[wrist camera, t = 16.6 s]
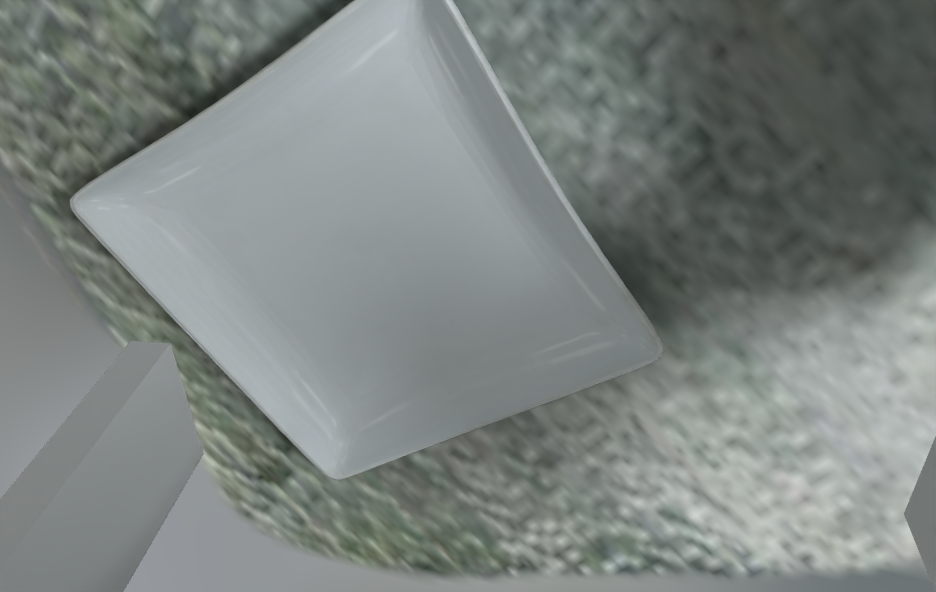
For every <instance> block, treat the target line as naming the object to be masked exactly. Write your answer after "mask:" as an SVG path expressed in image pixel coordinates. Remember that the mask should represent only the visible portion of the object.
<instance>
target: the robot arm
mask: <svg viewBox="0 0 936 592" xmlns="http://www.w3.org/2000/svg"><path fill="white" fill-rule="evenodd" d="M203 454H204V453H203V450H202V447H201V443H200V440H199V437H198V433H197V430H196V427H195V423H194V420H193V417H192V414H191V410H190V407H189V404H188V400H187V397H186V394H185V390H184V387H183V384H182V380H181V377H180V374H179V370H178V367H177V364H176V360H175V357H174V354H173V350H172V347H171V344H170V343H155V342H140V341H130V342H129V344H128V345H127V346H126V347H125V348H124V350H123V351H122V352H121V353H120V355H119V356H118V357H117V358H116V359H115V361H114V362H113V363H112V364H111V365H110V367H109V368H108V369H107V370H106V371H105V373H104V374H103V375H102V376H101V378H100V379H99V380H98V381H97V382H96V384H95V385H94V386H93V387H92V389H91V390H90V391H89V392H88V394H87V395H86V396H85V397H84V398H83V399H82V401H81V402H80V403H79V404H78V405H77V407H76V408H75V409H74V410H73V411H72V413H71V414H70V415H69V416H68V418H67V419H66V420H65V421H64V423H63V424H62V425H61V426H60V427H59V429H58V430H57V431H56V432H55V433H54V435H53V436H52V437H51V438H50V439H49V441H48V442H47V443H46V444H45V445H44V447H43V448H42V449H41V450H40V451H39V453H38V454H37V455H36V456H35V458H34V459H33V460H32V461H31V462H30V464H29V465H28V466H27V467H26V468H25V470H24V471H23V472H22V473H21V475H20V476H19V477H18V478H17V479H16V481H15V482H14V483H13V484H12V485H11V487H10V488H9V489H8V490H7V491H6V493H5V494H4V495H3V497H2V498H1V499H0V592H123V591H124V590H125V588H126V586H127V584H128V583H129V581H130V579H131V578H132V576H133V574H134V573H135V571H136V569H137V567H138V566H139V564H140V562H141V561H142V559H143V557H144V555H145V554H146V552H147V550H148V548H149V547H150V545H151V543H152V542H153V540H154V538H155V536H156V535H157V533H158V531H159V530H160V528H161V526H162V524H163V523H164V521H165V519H166V518H167V516H168V514H169V512H170V510H171V509H172V507H173V506H174V504H175V502H176V500H177V499H178V497H179V495H180V493H181V492H182V490H183V488H184V487H185V485H186V483H187V482H188V480H189V478H190V476H191V475H192V473H193V471H194V469H195V468H196V466H197V464H198V463H199V461H200V459H201V458H202V456H203ZM904 515H905V518H906V520H907V522H908V525H909V527H910V530H911V532H912V535H913V537H914V540H915V542H916V545H917V547H918V550H919V552H920V555H921V557H922V560H923V562H924V564H925V567H926V569H927V572H928V574H929V577H930V579H931V582H932V584H933V586H934V589H935V591H936V437H935V439H934V442H933V444H932V447H931V449H930V452H929V454H928V456H927V459H926V461H925V464H924V466H923V469H922V471H921V474H920V476H919V478H918V481H917V483H916V486H915V488H914V491H913V493H912V495H911V498H910V500H909V503H908V505H907V508H906V510H905V512H904Z"/></svg>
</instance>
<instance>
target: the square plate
mask: <svg viewBox="0 0 936 592" xmlns="http://www.w3.org/2000/svg"><path fill="white" fill-rule="evenodd" d="M70 207H71V210H72V211H73V213H74V214H75V215H76V217H77V218H78V219H79V220H80V221H81V222H82V223H83V224H84V226H85V227H86V228H87V229H88V230H89V231H90V232H91V233H92V234H93V235H94V236H95V237H96V238H97V239H98V240H99V241H100V243H101V244H102V245H103V246H104V247H105V248H106V249H107V250H108V251H109V252H110V253H111V254H112V255H113V256H114V257H115V258H116V259H117V260H118V262H119V263H120V264H121V265H122V266H123V267H124V268H125V269H126V270H127V271H128V272H129V273H130V274H131V275H132V276H133V277H134V278H135V279H136V280H137V281H138V282H139V283H140V285H141V286H142V287H143V288H144V289H145V290H146V291H147V292H148V293H149V294H150V295H151V296H152V297H153V298H154V299H155V300H156V301H157V302H158V303H159V304H160V306H161V307H162V308H163V309H164V310H165V311H166V312H167V313H168V314H169V315H170V316H171V317H172V318H173V319H174V320H175V321H176V322H177V323H178V324H179V325H180V327H181V328H182V329H183V330H184V331H185V332H186V333H187V334H188V335H189V336H190V337H191V338H192V339H193V340H194V341H195V342H196V343H197V344H198V345H199V346H200V347H201V348H202V349H203V350H204V351H205V352H206V353H207V354H208V355H209V356H210V358H211V359H212V360H213V361H214V362H215V363H216V364H217V365H218V366H219V367H220V368H221V369H222V370H223V371H224V372H225V373H226V374H227V375H228V376H229V378H230V379H231V380H232V381H233V382H234V383H235V384H236V385H237V386H238V387H239V388H240V389H241V390H242V391H243V392H244V393H245V394H246V395H247V396H248V397H249V398H250V399H251V400H252V401H253V402H254V404H255V405H256V406H257V407H258V408H259V409H260V410H261V411H262V412H263V413H264V414H265V415H266V416H267V417H268V418H269V419H270V420H271V421H272V422H273V424H274V425H275V426H276V427H277V428H278V429H279V430H280V431H281V432H282V433H283V434H284V435H285V436H286V437H287V438H288V439H289V440H290V441H291V442H292V443H293V444H294V445H295V446H296V447H297V448H298V449H299V450H300V451H301V452H302V453H303V454H304V455H305V456H306V457H307V458H308V459H309V460H310V461H311V462H312V463H313V464H314V465H315V466H316V467H317V468H318V469H319V470H320V471H321V472H322V473H323V474H324V475H326V476H327V477H329V478H331V479H333V480H338V479H344V478H347V477H350V476H353V475H355V474H358V473H361V472H364V471H367V470H369V469H372V468H375V467H377V466H380V465H382V464H385V463H388V462H390V461H393V460H396V459H398V458H401V457H403V456H406V455H409V454H411V453H414V452H417V451H419V450H422V449H425V448H427V447H430V446H433V445H435V444H438V443H441V442H443V441H446V440H449V439H451V438H454V437H456V436H459V435H462V434H464V433H467V432H470V431H472V430H475V429H478V428H481V427H483V426H486V425H489V424H491V423H494V422H497V421H499V420H502V419H505V418H508V417H510V416H513V415H516V414H519V413H521V412H524V411H527V410H529V409H532V408H535V407H537V406H540V405H543V404H545V403H548V402H551V401H554V400H556V399H559V398H562V397H565V396H567V395H570V394H573V393H576V392H578V391H581V390H584V389H586V388H589V387H591V386H594V385H597V384H599V383H602V382H605V381H607V380H610V379H613V378H615V377H618V376H621V375H623V374H626V373H628V372H631V371H634V370H636V369H639V368H641V367H644V366H646V365H648V364H651V363H653V362H655V361H657V360H658V359H660V358H661V356H662V355H663V352H664V346H663V344H662V342H661V340H660V338H659V336H658V334H657V332H656V330H655V329H654V327H653V326H652V323H651V322H650V321H649V319H648V317H647V316H646V314H645V312H644V311H643V310H642V309H641V308H640V306H639V304H638V303H637V301H636V300H635V298H634V297H633V296H632V294H631V293H630V292H629V290H628V289H627V287H626V286H625V284H624V283H623V281H622V280H621V278H620V277H619V275H618V274H617V273H616V271H615V270H614V268H613V267H612V265H611V264H610V263H609V261H608V260H607V258H606V257H605V256H604V254H603V253H602V251H601V249H600V248H599V246H598V244H597V243H596V242H595V240H594V239H593V238H592V236H591V234H590V233H589V232H588V230H587V229H586V227H585V226H584V224H583V223H582V221H581V220H580V218H579V217H578V215H577V213H576V212H575V210H574V208H573V207H572V205H571V204H570V202H569V201H568V199H567V198H566V196H565V194H564V193H563V191H562V189H561V188H560V186H559V184H558V183H557V181H556V179H555V178H554V176H553V174H552V173H551V171H550V169H549V168H548V166H547V164H546V163H545V161H544V160H543V158H542V156H541V154H540V153H539V151H538V149H537V148H536V146H535V144H534V142H533V141H532V139H531V137H530V135H529V134H528V132H527V130H526V128H525V126H524V125H523V123H522V121H521V120H520V118H519V116H518V114H517V113H516V111H515V109H514V107H513V106H512V104H511V102H510V100H509V99H508V97H507V95H506V93H505V91H504V90H503V88H502V86H501V84H500V82H499V80H498V79H497V77H496V75H495V73H494V71H493V70H492V68H491V66H490V65H489V63H488V61H487V59H486V57H485V56H484V54H483V52H482V50H481V49H480V47H479V45H478V43H477V42H476V40H475V38H474V36H473V34H472V33H471V31H470V29H469V28H468V26H467V24H466V22H465V20H464V19H463V17H462V15H461V13H460V11H459V10H458V8H457V6H456V5H455V3H454V2H453V0H353V1H352V2H350V3H349V4H348V5H346V6H345V7H344V8H343V9H341V10H340V11H339V12H337V13H336V14H335V15H333V16H332V17H331V18H329V19H328V20H327V21H326V22H324V23H323V24H322V25H320V26H319V27H318V28H316V29H315V30H314V31H312V32H311V33H310V34H308V35H307V36H306V37H305V38H303V39H302V40H301V41H299V42H298V43H297V44H295V45H294V46H293V47H291V48H290V49H289V50H288V51H286V52H285V53H284V54H282V55H281V56H280V57H278V58H277V59H276V60H274V61H273V62H272V63H270V64H269V65H267V66H266V67H264V68H263V69H262V70H260V71H259V72H258V73H256V74H255V75H254V76H252V77H251V78H250V79H248V80H247V81H245V82H244V83H243V84H241V85H240V86H239V87H237V88H236V89H234V90H233V91H232V92H230V93H229V94H227V95H226V96H225V97H223V98H222V99H220V100H219V101H217V102H216V103H215V104H213V105H212V106H210V107H208V108H207V109H205V110H204V111H202V112H201V113H199V114H198V115H196V116H195V117H193V118H192V119H191V120H189V121H188V122H186V123H185V124H183V125H181V126H180V127H178V128H176V129H175V130H173V131H172V132H170V133H168V134H167V135H165V136H164V137H162V138H160V139H159V140H157V141H156V142H154V143H152V144H151V145H149V146H147V147H146V148H144V149H143V150H141V151H139V152H138V153H136V154H134V155H133V156H131V157H129V158H128V159H126V160H124V161H123V162H121V163H119V164H118V165H116V166H114V167H113V168H111V169H110V170H108V171H106V172H105V173H103V174H102V175H100V176H98V177H97V178H95V179H94V180H92V181H91V182H89V183H88V184H86V185H85V186H84V187H82V188H81V189H80V190H79V191H78V192H76V193H75V194H74V195H73V196H72V198H71V199H70Z"/></svg>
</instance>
